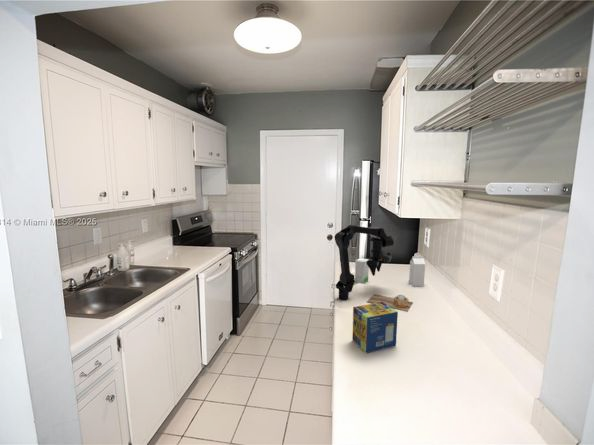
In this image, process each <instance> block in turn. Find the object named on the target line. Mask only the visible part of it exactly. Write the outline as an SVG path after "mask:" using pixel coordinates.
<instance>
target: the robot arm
mask: <svg viewBox="0 0 594 445" xmlns="http://www.w3.org/2000/svg"><path fill="white" fill-rule="evenodd" d="M356 233H358V234H359V233H360V234H364V235H369V236H372V237H371V238H370V239H369V242H372V244H371V249H370V252H371V256H370V258H368V259H369V260H368V261H367V266H368V267H369V270H370V273H371V275H372V277H374V276H375V275H376V271H377V272H378V273H380V271H381V268H382V264H383V263H384V262H385V263H387V264H389V263H390V262H391V260H392V258H393V256H392V253H391V252H390V251H389V252H384V249H383V248H389V247H393V245H394V243H395V242H394V239H393V238H392V235H389V234H388V235H387V234H386V232H385V230H384V228H382V227H378V226H370V227H367V226H366V227H365V226H360V225H355V224H350V225H348V226H347V227H345V228H342V229H341V230H340V231H338V232H336V233H335V235H334V241H335V245H336V247H337V248H338V252H339V260H340V261H339V263H340V270H341V272H340V274H339V280H338V281H337V283H336V284H335V288H336V289H337V290H338V297H337V299H336V301H337V300H340V301H347V300H349V295H350V294H349V293H351V292H352V291H353V288H354V287H355V286H354V285H355V274H354V273H351V270H350V269H351V268H350V257H349V250H348V249H349V246H350V245H351V244H350V243H351V240H352V239H353V238H354V237H355V234H356Z"/></svg>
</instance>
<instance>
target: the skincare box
mask: <svg viewBox="0 0 594 445" xmlns="http://www.w3.org/2000/svg"><path fill="white" fill-rule="evenodd" d="M369 259H370V258H357V259H355V264H354V265H355V268H354V269H355V270H354V271H355V273H354V280H355V282H354V284H363V285H365V284H367V283H369V270H370V269H369V267H368V266H367V261H368V260H369Z"/></svg>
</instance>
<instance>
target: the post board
mask: <svg viewBox="0 0 594 445" xmlns="http://www.w3.org/2000/svg"><path fill="white" fill-rule="evenodd" d="M397 296H398V300H401V301H405V297H406V296H405V295H404V294H398V295H397ZM379 302H383V303H385V304H386V305H388V306H390V307H391V308H393V309H394V310H396V311H400V312H406V313H408V312H409V311H410V309H411V307H412V305H413V304H414V302H413V301H410V300H409V301H408V307H406V308H400V307H397V306H395V305H394V297H390V296H386V295H385V296H384V295H380V294H377V293H374V294H372V296H371V297H370V298H369V299H368V300H367V301H366V303H367V304H373V303H379Z"/></svg>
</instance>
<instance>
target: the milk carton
mask: <svg viewBox="0 0 594 445" xmlns="http://www.w3.org/2000/svg"><path fill="white" fill-rule="evenodd" d="M425 271H426V262H425V258H424V256H412V257H411V259H410V261H409V273H408V274H409V278H408V282H409V284H410V285H411V286H412V287H425V277H426V276H425V273H426V272H425Z"/></svg>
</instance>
